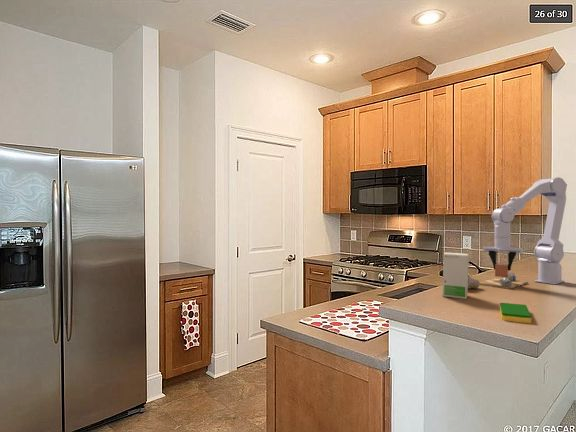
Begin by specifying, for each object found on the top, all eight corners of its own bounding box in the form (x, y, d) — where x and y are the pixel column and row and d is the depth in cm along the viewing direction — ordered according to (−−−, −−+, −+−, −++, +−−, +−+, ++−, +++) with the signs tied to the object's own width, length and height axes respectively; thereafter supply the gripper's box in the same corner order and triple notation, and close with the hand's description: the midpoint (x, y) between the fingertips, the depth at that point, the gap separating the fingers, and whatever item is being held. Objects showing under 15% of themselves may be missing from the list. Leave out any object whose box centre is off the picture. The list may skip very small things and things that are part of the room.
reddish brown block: (496, 274, 161) (496, 263, 161) (509, 275, 159) (509, 263, 159) (495, 276, 158) (495, 264, 158) (507, 277, 155) (507, 265, 155)
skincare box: (442, 296, 137) (442, 253, 137) (444, 293, 143) (444, 251, 143) (467, 299, 133) (467, 255, 133) (468, 295, 139) (468, 252, 139)
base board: (498, 279, 169) (498, 277, 169) (527, 283, 159) (527, 281, 159) (478, 284, 159) (478, 282, 159) (508, 289, 149) (508, 286, 149)
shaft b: (499, 283, 155) (499, 276, 155) (509, 284, 154) (509, 276, 154) (501, 285, 151) (501, 277, 151) (511, 286, 150) (511, 278, 150)
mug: (485, 290, 148) (476, 269, 146) (462, 301, 149) (452, 280, 147) (476, 282, 155) (467, 262, 153) (454, 292, 156) (445, 272, 154)
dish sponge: (501, 321, 109) (501, 313, 109) (499, 309, 121) (499, 302, 121) (531, 324, 105) (531, 316, 105) (526, 312, 118) (526, 304, 118)
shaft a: (508, 279, 165) (508, 271, 165) (516, 280, 162) (516, 272, 162) (502, 280, 162) (502, 272, 162) (511, 281, 160) (511, 274, 160)
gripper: (481, 237, 159) (481, 269, 160) (521, 238, 151) (521, 272, 151) (484, 236, 165) (484, 267, 165) (523, 237, 156) (523, 270, 156)
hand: (502, 269), depth 158 cm, fingers closed on reddish brown block, 4 cm apart
